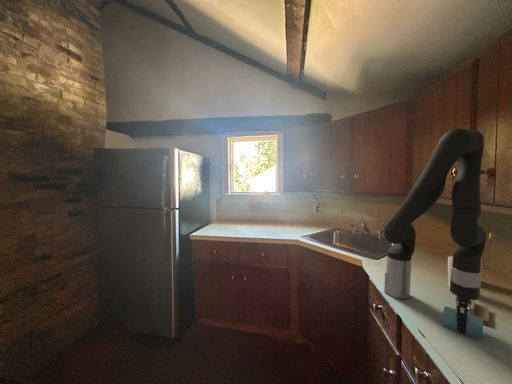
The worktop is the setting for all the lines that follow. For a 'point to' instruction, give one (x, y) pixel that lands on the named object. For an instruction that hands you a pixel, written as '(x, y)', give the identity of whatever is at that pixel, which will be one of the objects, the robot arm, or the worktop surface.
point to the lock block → (472, 327)
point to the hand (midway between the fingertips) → (461, 327)
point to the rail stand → (480, 312)
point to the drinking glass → (449, 268)
